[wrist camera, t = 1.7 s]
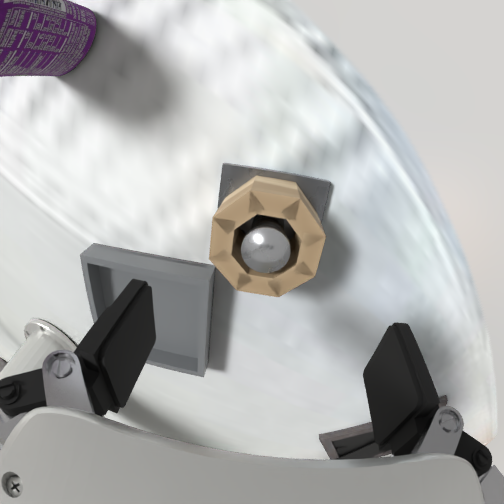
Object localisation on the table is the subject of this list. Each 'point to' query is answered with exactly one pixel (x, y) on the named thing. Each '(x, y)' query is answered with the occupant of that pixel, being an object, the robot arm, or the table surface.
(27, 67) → the beverage can
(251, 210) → the maple ring
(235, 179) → the grey knobbed square plate
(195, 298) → the charcoal tray
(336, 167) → the table surface
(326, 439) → the picture frame
